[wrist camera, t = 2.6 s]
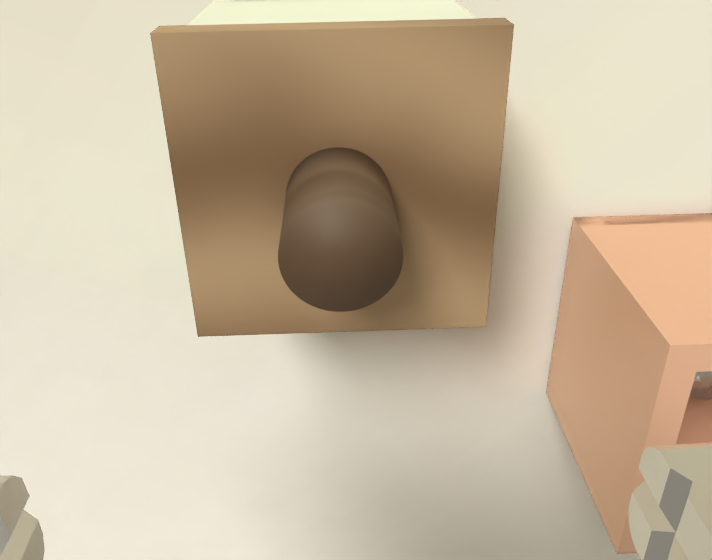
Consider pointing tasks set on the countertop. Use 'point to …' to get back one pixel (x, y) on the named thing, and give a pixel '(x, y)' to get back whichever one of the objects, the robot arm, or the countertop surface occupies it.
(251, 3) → the tub
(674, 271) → the planter
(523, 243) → the countertop surface
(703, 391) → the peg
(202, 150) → the lid
